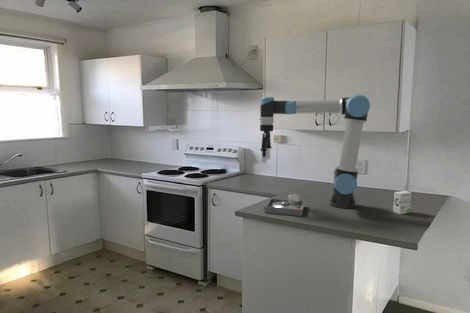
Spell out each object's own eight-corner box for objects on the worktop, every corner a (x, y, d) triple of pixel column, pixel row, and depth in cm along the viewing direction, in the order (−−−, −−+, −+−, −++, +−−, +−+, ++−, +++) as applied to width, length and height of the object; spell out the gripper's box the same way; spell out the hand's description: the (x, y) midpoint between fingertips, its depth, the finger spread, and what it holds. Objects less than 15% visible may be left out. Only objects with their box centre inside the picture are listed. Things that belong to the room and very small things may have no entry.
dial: (279, 211, 199) (280, 199, 198) (267, 204, 213) (267, 192, 212) (304, 209, 205) (305, 197, 204) (290, 202, 219) (291, 191, 218)
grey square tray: (304, 206, 217) (304, 200, 216) (301, 216, 197) (302, 209, 197) (269, 203, 221) (270, 197, 221) (264, 212, 202) (264, 206, 201)
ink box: (403, 210, 213) (404, 190, 212) (410, 212, 209) (412, 192, 207) (392, 212, 209) (394, 191, 208) (399, 214, 205) (401, 193, 203)
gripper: (263, 123, 227) (263, 157, 229) (256, 125, 203) (255, 163, 205) (276, 123, 225) (275, 158, 228) (270, 125, 201) (269, 164, 204)
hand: (265, 160), depth 216 cm, fingers open, 13 cm apart
